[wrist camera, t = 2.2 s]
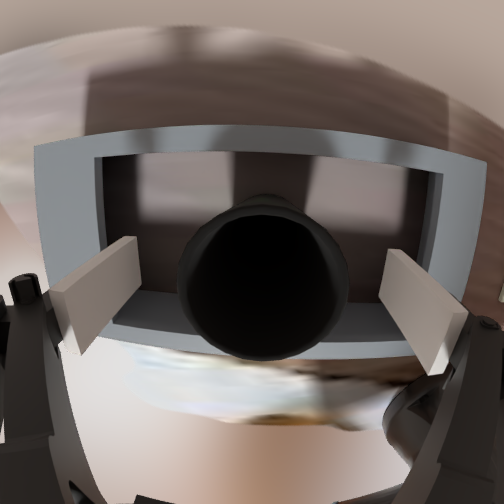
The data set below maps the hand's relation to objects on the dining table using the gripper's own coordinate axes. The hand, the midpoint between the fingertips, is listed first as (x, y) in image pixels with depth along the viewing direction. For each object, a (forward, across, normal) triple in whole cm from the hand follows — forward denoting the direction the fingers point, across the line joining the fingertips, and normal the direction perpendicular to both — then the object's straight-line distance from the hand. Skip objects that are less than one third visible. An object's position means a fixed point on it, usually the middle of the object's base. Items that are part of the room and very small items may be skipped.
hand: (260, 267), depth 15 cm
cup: (+10, 0, 0) cm, 10 cm away
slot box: (+10, +1, 0) cm, 10 cm away
